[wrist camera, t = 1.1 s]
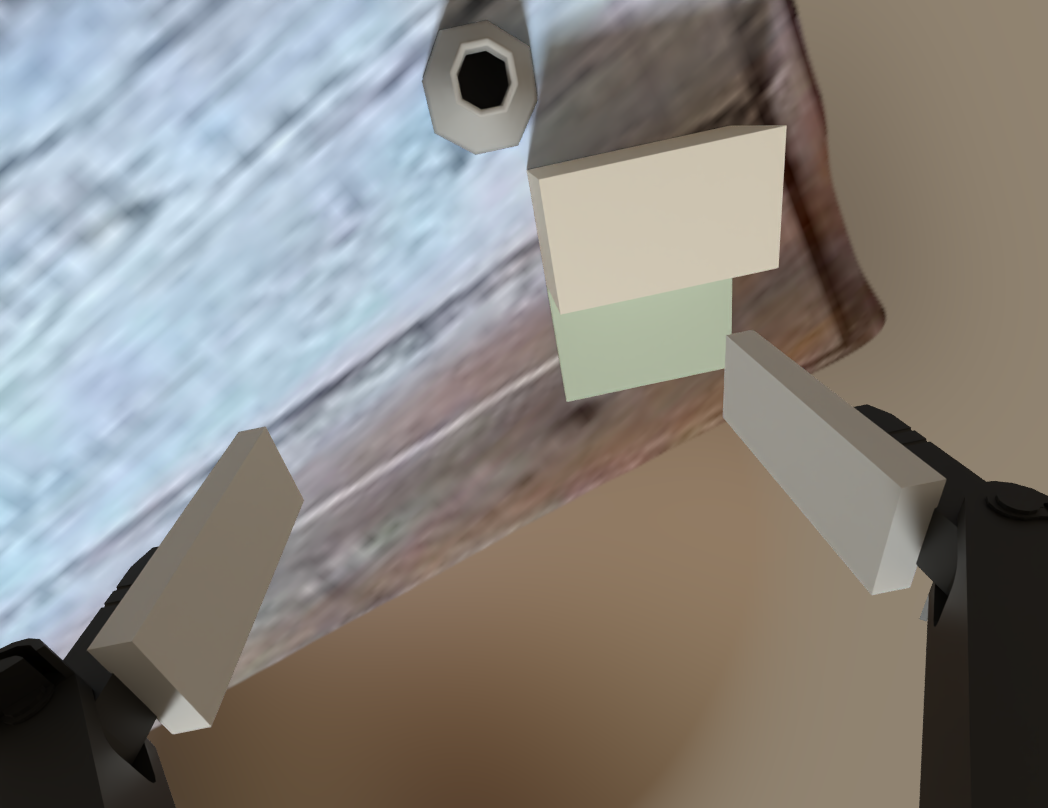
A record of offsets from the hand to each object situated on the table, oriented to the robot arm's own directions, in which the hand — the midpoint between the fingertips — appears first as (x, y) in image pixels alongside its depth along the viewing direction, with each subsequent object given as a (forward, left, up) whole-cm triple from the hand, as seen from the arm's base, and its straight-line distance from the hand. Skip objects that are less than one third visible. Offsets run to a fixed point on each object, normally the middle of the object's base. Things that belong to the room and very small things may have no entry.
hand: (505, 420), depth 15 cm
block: (0, +11, -25) cm, 27 cm away
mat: (+9, +11, -25) cm, 29 cm away
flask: (-9, +2, -25) cm, 27 cm away
